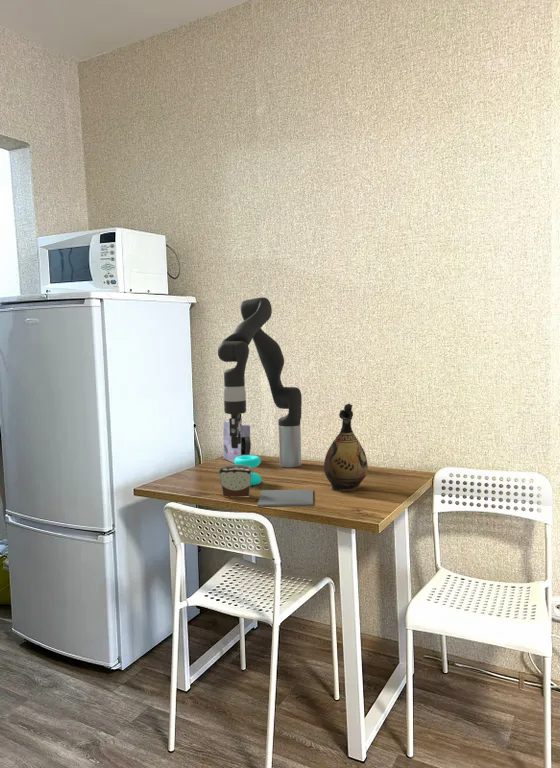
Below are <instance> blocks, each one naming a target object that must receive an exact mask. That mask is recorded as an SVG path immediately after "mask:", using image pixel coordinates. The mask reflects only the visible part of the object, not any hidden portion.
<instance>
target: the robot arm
mask: <svg viewBox="0 0 560 768" xmlns="http://www.w3.org/2000/svg"><path fill="white" fill-rule="evenodd" d="M272 308H273V307H272V304H271V302H270V300H269V299H268V298H267V297H256V298H251V299H246V300H243V301H242V302H241V303H240V315H241V317H242V319H243V321H242V322H240V323H239V324H238V325H237V326H236V327H235V329H234V331H233V332H232V333H231V334H230V335H228V336H227V337H225V339H223V340H222V341H221V342H220V344H219V345H218V348H217V355H218V358H219V359H220V360H221V361H222V362H225V363H236V365H235V366H234V367H232V368H228V369H225V371H224V372H223V386H224V388H223V389H224V390H223V408H224V413H225V414H227V415H230V418H229V419H228V420H229V423H230V436H231V447H232V448H238V444H240V443H241V430H242V423H243V421H242V420H243V419H242V414H246V413H247V396H246V395H247V393H246V386H245V384H246V383H245V382H246V381H245V380H246V379H245V374H246V368H247V367H246V366H247V364H248V358H249V354H250V347H249V345H250V344H251V342H252V340H253V343H254V346H255V349H256V351H257V354H258V358H259V360H260V362H261V366H262V367H263V370H264V373H265V376H266V378H267V381H268V384H269V388H270V393H271V397H272V400H273V403H274V405H275V407H276V408H278V409H280V410H281V409H283V410H285V409H286V410H288V414H286V415H285V416H282V417H280V418H279V419H278V445H279V446H278V449H279V450H278V453H279V467H282V468H298V467H300V466H301V467H302V435H301V434H302V433H301V428H302V427H301V419H302V403H303V402H302V401H303V400H302V399H303V397H302V392H301V389H300V388H299V387H296V386H294V387H293V386H284V385H283V382H282V380H281V379H282V378H281V374H282V371H283V368H284V364H285V358H284V355H283V352H282V349H281V346H280V344H279V343H278V342H277V340H275V339H274V338H273V337H272V336H270V335H269V334H268V333H266V332H265V331H264V330H263V329H262V328H263V326H264V325H265V324H266V323H267V322H268V321H269V320H270V319H271V317H272V314H273V309H272ZM233 432H234V433H233Z"/></svg>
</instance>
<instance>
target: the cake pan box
mask: <svg viewBox="0 0 560 768" xmlns="http://www.w3.org/2000/svg"><path fill="white" fill-rule="evenodd" d="M222 430H223V432H222V433H223V441H222V442H223V443H222V444H223V446H222V447H223V449H222V450H223V451H222V453H223V454H222V455H223V456H222V457H223V459H224V460H226V461H229V462H230V463H232V464H235V463H234V460H235V458H237V457H239V456H245V455H251V448H252V441H251V426H250V425H249V424H246V423H243V422H242V430H241V443H240V444H238V448H232V447H231V436H230V423H229V419H227V420H223V429H222ZM233 433H234V432H233Z"/></svg>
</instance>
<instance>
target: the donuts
mask: <svg viewBox="0 0 560 768" xmlns="http://www.w3.org/2000/svg"><path fill="white" fill-rule="evenodd" d="M261 463H262V459H261V457H259V456H258V455H254V454H253V455H251V454H250V455H245V456H239V457H237V458H235V460H234V463H233V464H234V465H246V466H250V467H251V469H253V468H257V467H258V466H259V465H260V464H261ZM262 479H263V478H262V476H261V475H260V474H258V473H256V472H253V475H252V472H251V486H250V487H252V485H253V486H258V485H259V484H260V483H261V482H262Z"/></svg>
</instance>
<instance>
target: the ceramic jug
mask: <svg viewBox="0 0 560 768" xmlns="http://www.w3.org/2000/svg"><path fill="white" fill-rule="evenodd" d="M338 414H339V415H338V416H339V418H340V419H341V420H342V424H341V429H340V431H339V433H338V434H337V435H336V437H335V439H334V440H333V441H332V443H331V444H330V446H329V448H328V449H327V452H326V454H325V458H324V462H323V471H324V475H325V478H326V479H327V481H328V482H329V483H330V485H331V490H332V491H337V492H344V493H345V492H355V491H357V490H358V488H359V486H360V485H361V483H362V482H363V481H364V479H365V478H366V477H367V473H368V467H369V466H368V465H369V464H368V458H367V456H366V452H365V449H364V447H363V446H362V445H361V443H360V440H359V439H358V438H357V436H356V435H355V433H354V431H353V428H352V420H353V417H354V412H353V404H351V403H347V404H345V405H344V407H343V409H341V410H340V412H339V413H338Z"/></svg>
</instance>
